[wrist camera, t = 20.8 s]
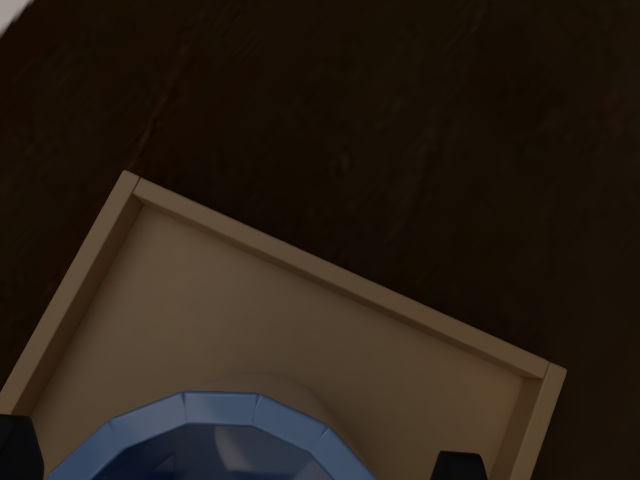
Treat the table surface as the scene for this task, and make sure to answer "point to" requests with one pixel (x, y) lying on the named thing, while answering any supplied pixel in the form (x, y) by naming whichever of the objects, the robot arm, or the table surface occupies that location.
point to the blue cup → (222, 437)
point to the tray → (268, 342)
